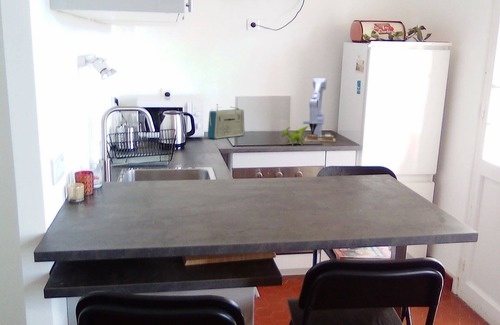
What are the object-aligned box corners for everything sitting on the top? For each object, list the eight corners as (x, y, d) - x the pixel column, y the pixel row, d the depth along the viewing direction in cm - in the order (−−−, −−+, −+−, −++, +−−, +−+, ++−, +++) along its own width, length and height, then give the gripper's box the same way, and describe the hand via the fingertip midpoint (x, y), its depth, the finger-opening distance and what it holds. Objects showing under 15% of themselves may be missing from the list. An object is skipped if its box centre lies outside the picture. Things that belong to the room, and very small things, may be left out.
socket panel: (305, 138, 359) (305, 133, 358) (335, 139, 355) (335, 135, 355) (304, 141, 347) (304, 136, 347) (335, 142, 344) (335, 137, 343)
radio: (213, 139, 344) (213, 105, 339) (207, 138, 350) (207, 104, 345) (245, 136, 364) (245, 103, 358) (238, 134, 369) (239, 102, 364)
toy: (285, 150, 337) (277, 132, 331) (309, 134, 342) (301, 116, 336) (291, 152, 329) (282, 134, 323) (315, 135, 335) (307, 117, 329)
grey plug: (324, 137, 353) (324, 132, 352) (330, 138, 352) (331, 133, 351) (324, 138, 348) (324, 133, 347) (330, 139, 348) (331, 133, 347)
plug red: (309, 138, 354) (309, 133, 354) (315, 138, 354) (315, 133, 353) (309, 139, 350) (309, 134, 349) (315, 139, 350) (315, 134, 349)
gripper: (303, 115, 345) (302, 134, 348) (323, 116, 343) (322, 135, 346) (303, 114, 352) (302, 133, 355) (323, 115, 350) (322, 134, 353)
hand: (312, 134), depth 351 cm, fingers closed, pressing on plug red
